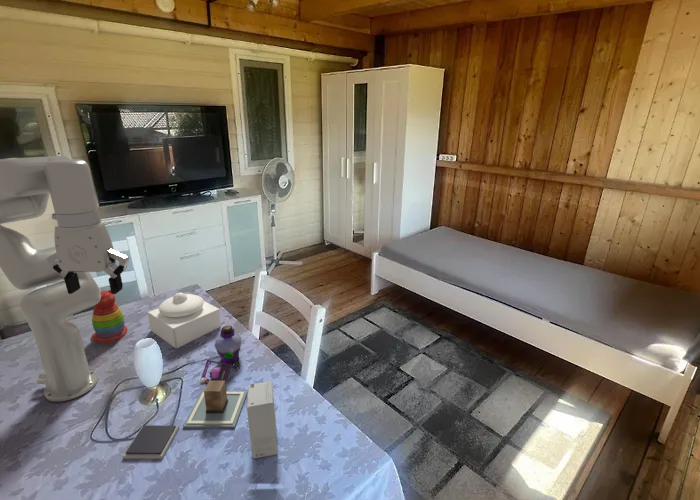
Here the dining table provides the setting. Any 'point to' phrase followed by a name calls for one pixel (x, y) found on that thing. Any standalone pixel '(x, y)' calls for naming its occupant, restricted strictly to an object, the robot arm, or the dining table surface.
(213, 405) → the stamp
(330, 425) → the dining table surface
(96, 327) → the stacking bear
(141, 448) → the ink pad
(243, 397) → the board
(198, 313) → the butter dish
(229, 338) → the potion bottle
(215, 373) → the purple toy box
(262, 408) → the skincare box
